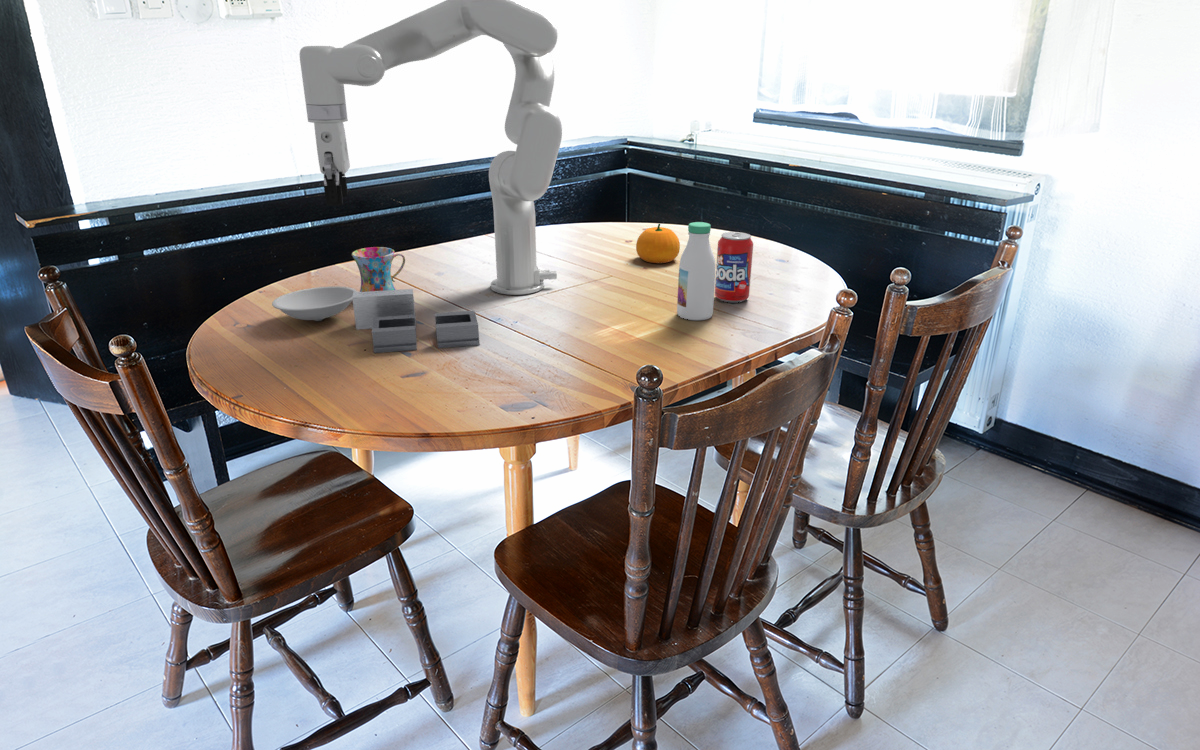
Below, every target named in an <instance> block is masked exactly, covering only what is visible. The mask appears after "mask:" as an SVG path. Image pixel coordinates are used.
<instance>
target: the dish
mask: <svg viewBox="0 0 1200 750" xmlns="http://www.w3.org/2000/svg"><path fill="white" fill-rule="evenodd" d="M353 292H359V291H358V290H356V288H352V287H349V286H348V287H347V286H338V285H337V286H335V285H334V286H330V285H329V286H318V287H311V288H305V289H299V290H295V291H291V292H289V293H286V294H283V295H280V296H279V297H276V298H274V300H273V301H272V304H271V305H272V308H274V309H275V310H276V309H277V310H279V311H280V312H282V313H283V314H285V315H287V316H289V317H291V318H293V319H297V320H301V321H303V320H304V321H315V322H322V321H324V319H326V318H327V319H328V318H330V317H333V316H336V315H338V314H339V313H341V312H343V311H345V310H346V309H347V307H348V306H350V304H351V303H353V299H352V296H353Z"/></svg>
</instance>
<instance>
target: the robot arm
mask: <svg viewBox="0 0 1200 750" xmlns="http://www.w3.org/2000/svg"><path fill="white" fill-rule="evenodd" d="M480 36H488V37H490V38H492V39H494V40H496V41H498V42H501V43H502V44H503V46H504V47H505V48H506V50H507V51H508V53H509V54H510V57H511V59H512V61H513V64H514V68H515V69H514V71H515V75H514V76H515V77H514V84H513V89H512V92H511V93H512V94H511V96H510V101H509V105H508V110H507V114H506V117H505V122H504V132H505V135H506V137H507V139H508V140H510V142H511V143H513V144H514V145H516V149H515V150H504V151H502V152H499V153H498V154H497V155H495V156H494V157H493V159H492V160H491V163H490V165H489V168H488V181H489V188H490V193H491V198H492V207H493V208H492V209H493V225H494V227H493V229H494V246H495V263H496V264H495V265H496V267H495V268H496V278H495V279H493V280H492V281H491V282H490V289H491V290H492V291H493V292H495V293H498V294H501V295H510V296H511V295H512V296H517V295H518V296H521V295H530V294H535V293H536V292H537V293H538V292H539V291H541V290H542V289H543V288H544V280H557V279H558V278H557V277H558V274H557V271H556V270H554V271H551V270H550V269H544V270H543V269H542V270H541V269H539V267H538V266H537V236H536V235H537V234H536V229H537V228H536V207H535V202H534V201H537V200H539V199H540V198H542V197H543V196H544V195H545V194H546V193H547V191H548V189H549V187H550V185H551V182H552V177H553V174H554V171H555V165H556V162H557V158H558V155H559V151H560V147H561V143H562V136H563V127H562V121H561V119H560V116H559V115H558V113H557V112H556V111H555V110H554V109H552V108H551V107H550V105H551V101H552V99H551V98H552V94H553V90H554V85H555V68H554V63H553V60H552V55H551V54H550V53H552V51H553V50H554V48H555V47H556V45H557V41H558V29H557V27H556V24H555V22H554V21H553V20H552V18H551V17H550V16H549V15H548V14H546V13H544V12H542V11H541V10H539V9H536V8H533V7H531V6H529V5H527V4H524V3H523V2H520V1H518V0H444V1H441V2H440V3H439V2H438V3H437V4H435V5H433V6H431V7H429V8H426V9H424V10H422V11H419V12H416V13H415V14H413V15H410V16H407V17H405V18H404V19H401V20H399V21H397V22H396V23H393V24H390V25H388V26H386V27H384V28H382V29H379V30H377V31H374V32H372V33H369V34H367V35H365V36H363V37H361V38H359V39H357V40H354V41H352V42H349V43H347V44H346V45H344V46H343V47H335V46H330V45H306V46H302V47H301V49H300V50H299V61H300V62H299V63H300V72H301V78H302V86H303V87H302V88H303V94H304V102H305V109H306V116H307V117H306V118H307V122H308V123H313V124H314V125H313V126H314V134H315V135H314V136H315V142H316V143H315V145H316V150H317V160H318V164H319V166H318V167H319V171H320V173H321V174H323V189H324V198H325V205H326V206H327V207H335V206H336V207H340V206H343V205H344V200H343V197H344V198H345V197H348V196H349V192H348V191H349V190H348V182H347V176H346V173H348V171H349V169H350V166H351V165H350V158H349V150H348V143H347V135H346V130H345V125H344V122H348V112H347V103H346V102H347V101H346V93H345V85H351V86H360V87H370V86H374V85H377V84H378V83H379V82H380V81H381V80H382V79H383V78H384V76H385V72H386V71H388V70H390V69H393V68H395V67H398V66H400V65H405V64H407V63H408V64H409V63H413V62H418V61H419V62H420V61H425V60H428V59H431V58H434V57H437V56H440V55H441V54H443V53H446V52H447V51H449V50H452V49H454V48H456V47H458V46H460V45H463V44H464V43H467V42H469V41H471V40H473V39H475V38H477V37H480Z"/></svg>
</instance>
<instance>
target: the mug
mask: <svg viewBox="0 0 1200 750" xmlns="http://www.w3.org/2000/svg"><path fill="white" fill-rule="evenodd" d="M351 256H352V258H353V260H354V262H355V263H356V265H357V267H358V272H359V276H360V289H359V292H369V291H386V290H397V289H396V288H395V285H394V283H395V282H396V281H395V280H394V278H395V277H397V276H398V275H399V274H400V273H401V272H402V270H403V269H404V267H405V263H406V258H405V255H403V254H402V253H396V252H395V250H394V249H392V248H390V247H384V246H373V247H372V246H371V247H364V248H359V249H356V250H354V251H352V252H351ZM398 256H400V257H402V262H401V266H400V267H399V269H398V271H397V270H396V272H395V273H394V274H393V275H392V263H393V260H394V259H395V258H396V257H398Z"/></svg>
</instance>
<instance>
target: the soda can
mask: <svg viewBox="0 0 1200 750" xmlns="http://www.w3.org/2000/svg"><path fill="white" fill-rule="evenodd" d="M720 235H721V237H720V238H719V240H718V241H717V250H716V251H717V253H716V263H715V286H714V298H717V299H718V300H719V301H721V302H723V301H724V302H723V303H727V302H728V303H729V304H738V302H739V303H742V302H744V301H746V300H747V299H748V298H749V296H750V290H751V278H752V266H753V253H754V241H753V240H752V239H751V238H752V235H751V234H750V233H748V232H747V233H746V232H741V231H740V232H739V231H728V232H723V233H721V234H720ZM728 303H727V304H728Z"/></svg>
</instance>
